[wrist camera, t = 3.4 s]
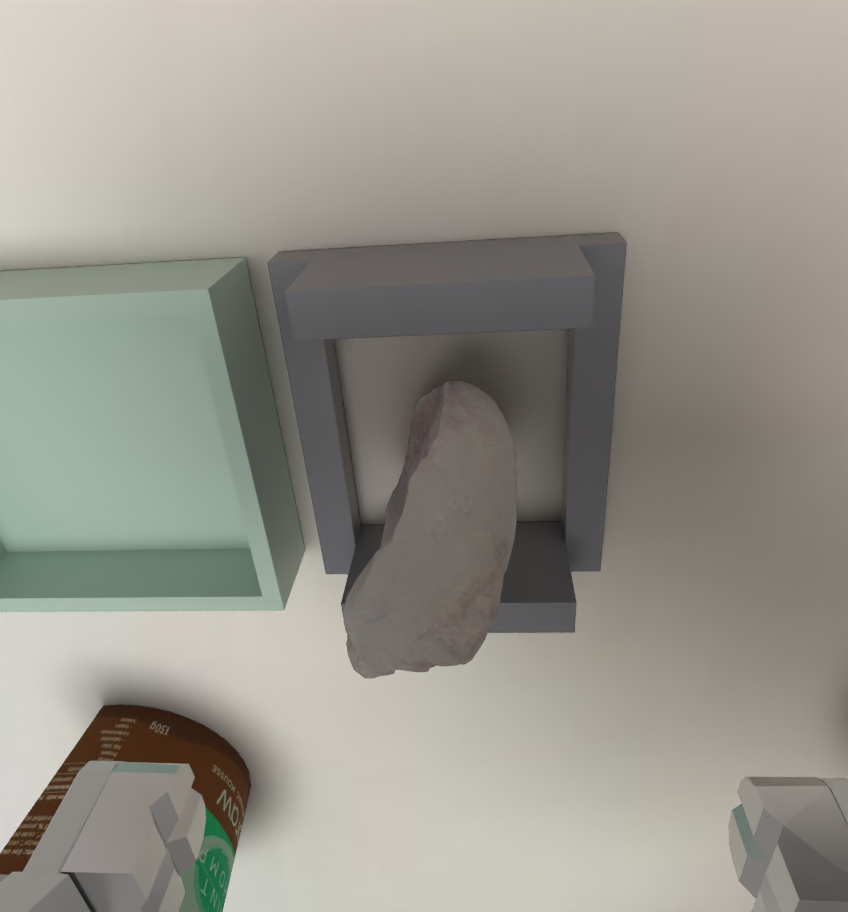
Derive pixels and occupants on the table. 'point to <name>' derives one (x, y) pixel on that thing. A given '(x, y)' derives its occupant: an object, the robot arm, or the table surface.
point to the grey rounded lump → (439, 540)
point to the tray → (140, 443)
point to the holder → (452, 312)
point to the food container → (155, 741)
